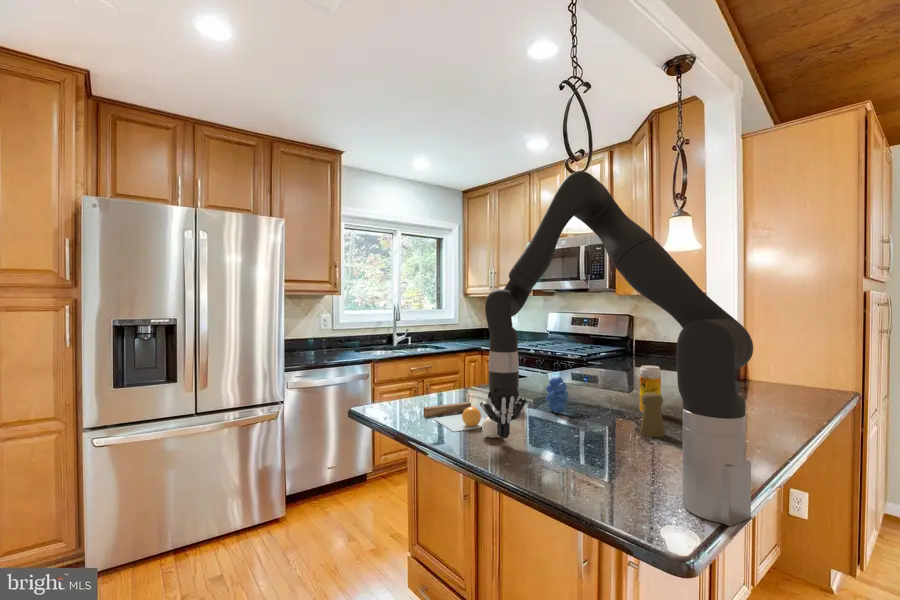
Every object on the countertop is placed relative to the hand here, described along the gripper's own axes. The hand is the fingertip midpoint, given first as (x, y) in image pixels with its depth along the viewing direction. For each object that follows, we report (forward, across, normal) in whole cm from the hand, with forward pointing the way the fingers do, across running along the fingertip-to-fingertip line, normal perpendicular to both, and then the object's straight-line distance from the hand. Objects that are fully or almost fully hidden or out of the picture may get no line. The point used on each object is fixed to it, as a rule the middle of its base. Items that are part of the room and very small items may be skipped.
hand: (503, 437), depth 106 cm
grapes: (+2, +32, +16) cm, 36 cm away
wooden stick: (+2, 0, +32) cm, 32 cm away
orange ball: (-1, 0, +16) cm, 17 cm away
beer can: (+2, +58, +3) cm, 58 cm away
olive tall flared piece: (+2, +41, -11) cm, 42 cm away
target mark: (+2, 0, +21) cm, 21 cm away
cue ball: (-1, 0, +6) cm, 6 cm away
